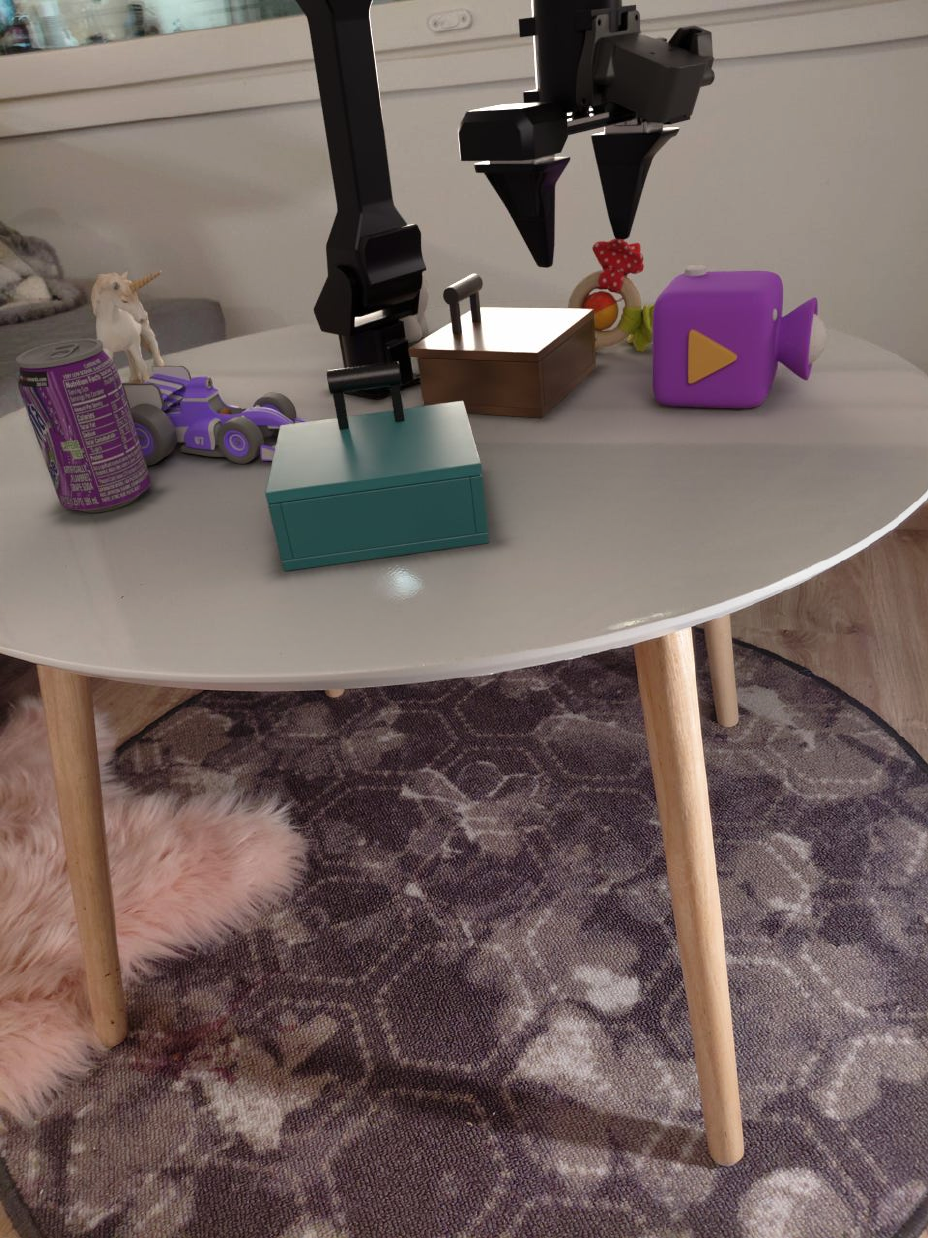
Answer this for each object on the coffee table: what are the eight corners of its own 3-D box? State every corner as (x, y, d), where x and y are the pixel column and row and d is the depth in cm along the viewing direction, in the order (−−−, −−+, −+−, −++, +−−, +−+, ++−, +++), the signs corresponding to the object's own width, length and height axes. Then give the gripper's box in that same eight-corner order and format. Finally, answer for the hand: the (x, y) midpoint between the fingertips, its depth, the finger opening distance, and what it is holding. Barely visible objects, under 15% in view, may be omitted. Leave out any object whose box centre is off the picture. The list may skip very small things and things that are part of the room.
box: (424, 410, 85) (417, 358, 83) (487, 363, 95) (483, 316, 93) (541, 418, 80) (538, 362, 78) (596, 368, 90) (594, 317, 88)
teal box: (294, 499, 71) (281, 439, 69) (472, 475, 72) (465, 415, 69) (283, 571, 61) (267, 505, 59) (489, 543, 62) (482, 475, 59)
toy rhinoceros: (454, 319, 112) (446, 243, 108) (420, 349, 103) (409, 268, 98) (399, 320, 115) (388, 247, 110) (360, 350, 105) (347, 270, 101)
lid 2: (409, 357, 83) (401, 299, 81) (475, 315, 93) (470, 262, 91) (538, 362, 78) (534, 300, 75) (594, 317, 88) (592, 261, 85)
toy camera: (827, 413, 74) (840, 283, 69) (651, 419, 77) (651, 294, 72) (812, 370, 83) (823, 252, 78) (655, 377, 86) (655, 263, 81)
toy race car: (274, 469, 77) (256, 392, 73) (122, 465, 82) (98, 393, 78) (323, 427, 84) (309, 355, 81) (181, 425, 89) (162, 357, 86)
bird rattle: (595, 381, 94) (680, 337, 91) (543, 279, 89) (632, 230, 86) (594, 362, 99) (674, 321, 96) (545, 265, 94) (628, 218, 91)
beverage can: (76, 487, 78) (26, 343, 72) (161, 476, 78) (118, 331, 72) (51, 524, 72) (-6, 370, 66) (143, 512, 72) (95, 357, 66)
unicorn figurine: (126, 429, 90) (81, 285, 83) (98, 382, 105) (59, 257, 98) (199, 411, 92) (162, 270, 85) (162, 367, 108) (128, 245, 101)
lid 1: (282, 435, 69) (267, 368, 67) (464, 410, 70) (457, 343, 67) (267, 504, 59) (249, 428, 56) (482, 474, 59) (474, 397, 57)
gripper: (592, -15, 49) (600, 293, 57) (766, -31, 60) (752, 230, 68) (439, 7, 56) (466, 279, 64) (620, -10, 67) (623, 224, 75)
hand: (585, 252), depth 68 cm, fingers open, 9 cm apart
